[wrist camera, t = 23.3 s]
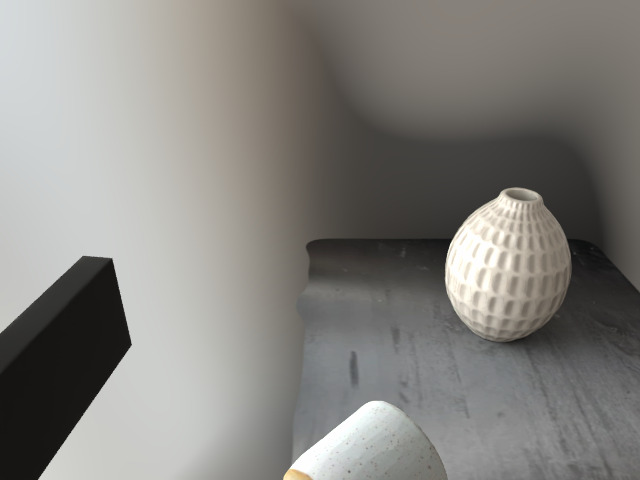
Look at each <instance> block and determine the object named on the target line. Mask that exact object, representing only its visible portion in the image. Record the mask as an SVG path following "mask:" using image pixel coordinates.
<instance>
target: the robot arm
mask: <svg viewBox="0 0 640 480" xmlns="http://www.w3.org/2000/svg"><path fill="white" fill-rule="evenodd" d="M131 345H132V344H131V339H130V335H129V330H128V326H127V321H126V317H125V313H124V308H123V304H122V300H121V295H120V291H119V287H118V282H117V277H116V273H115V269H114V264H113V260H112V258H103V257H90V256H82V257H81V258H80V259H79V260H78V261H77V262H76V263H75V264H74V265H73V266H72V267H71V268H70V269H69V270H68V271H67V272H66V273H64V274H63V275H62V276H61V277H60V278H59V279H58V280H57V281H56V282H55V283H54V284H53V285H52V286H51V287H50V288H48V289H47V290H46V291H45V292H44V293H43V294H42V295H41V296H40V297H39V298H38V299H37V300H36V301H34V302H33V303H32V304H31V305H30V306H29V307H28V308H27V309H26V310H25V311H24V312H23V313H22V314H21V315H20V316H18V317H17V319H15V320H14V321H13V322H12V323H11V324H10V325H9V326H8V327H7V328H6V329H5V330H4V331H2V332H1V333H0V480H38V479H39V477H40V476H41V474H42V473H43V471H44V470H45V469H46V467H47V466H48V464H49V463H50V461H51V460H52V459H53V457H54V456H55V454H56V453H57V451H58V450H59V449H60V447H61V446H62V444H63V443H64V441H65V440H66V439H67V437H68V435H69V434H70V433H71V431H72V430H73V428H74V427H75V425H76V424H77V423H78V421H79V420H80V418H81V417H82V416H83V414H84V413H85V411H86V410H87V408H88V407H89V406H90V404H91V403H92V401H93V400H94V398H95V397H96V396H97V394H98V393H99V391H100V390H101V388H102V387H103V385H104V384H105V382H106V381H107V380H108V378H109V377H110V375H111V374H112V373H113V371H114V370H115V368H116V367H117V365H118V364H119V362H120V361H121V359H122V358H123V357H124V355H125V354H126V352H127V351H128V349H129V348H130V347H131Z"/></svg>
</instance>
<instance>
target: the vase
mask: <svg viewBox="0 0 640 480" xmlns="http://www.w3.org/2000/svg"><path fill="white" fill-rule="evenodd" d="M570 277H571V255H570V250H569V246H568V242H567V240H566V237H565V234H564V232H563V230H562V228H561V226H560V224H559V223H558V222H557V220H556V219H555V217H554V216H553V215H552V214H551V213H550V211H549V210H548V209H547V208H546V207H545V206H544V205H543V199H542V197H541V196H540V195H539V194H537V193H536V192H534V191H531V190H528V189H523V188H509V189H506V190H504V191H502V192H501V194H500V195H499V197H498V198H496V199H494V200H492V201H491V202H489V203H487V204H485V205H483V206H482V207H480V208H479V209H478V210H476V211H475V212H474V213H473V214H471V215H470V216H469V218H468V219H467V220H466V221H465V222H464V223H463V225H462V226H461V227H460V228H459V230H458V231H457V233H456V234H455V236H454V238H453V240H452V242H451V245H450V248H449V251H448V254H447V260H446V266H445V282H446V289H447V293H448V296H449V299H450V301H451V304H452V306H453V308H454V309H455V311H456V313H457V315H458V316H459V318H460V319H461V320H462V321H463V323H464V324H465V325H466V326H467V327H468V328H469V329H470V330H471V331H472V332H474V333H475V334H476V335H478V336H480V337H482V338H484V339H487V340H490V341H495V342H509V341H513V340H517V339H520V338H523V337H526V336H528V335H530V334H532V333H533V332H535V331H537V330H538V329H540V328H541V327H542V326H543V325H545V324H546V323H547V322H548V321H549V320H550V319H551V318H552V317H553V316H554V315H555V313H556V312H557V310H558V309H559V307H560V306H561V305H562V302H563V300H564V298H565V295H566V293H567V289H568V286H569V282H570Z"/></svg>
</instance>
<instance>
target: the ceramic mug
mask: <svg viewBox="0 0 640 480" xmlns="http://www.w3.org/2000/svg"><path fill="white" fill-rule="evenodd" d="M283 480H448V478H447V474H446V471H445V468H444V465H443V463H442V461H441V459H440V457H439V455H438V453H437V451H436V449H435V447H434V446H433V444H432V443H431V442H430V440H429V439H428V437H427V436H426V435H425V433H424V432H423V431H422V430H421V428H420V427H419V426H418V425H417V424H416V423H415V422H414V421H413V420H412V419H411V418H410V417H409V416H408V415H406V414H405V413H404V412H403V411H401V410H400V409H398V408H397V407H395V406H393V405H391V404H389V403H386V402H383V401H371V402H369V403H366V404H365V405H364V406H362V407H361V408H360V409H359V410H358V411H356V412H355V413H354V414H353V415H352V416H350V417H349V418H348V419H347V420H345V421H344V422H343V423H342V424H340V425H339V426H338V427H337V428H335V429H334V430H333V431H332V432H330V433H329V434H328V435H327V436H326V437H325V438H323V439H322V440H321V441H319V442H318V443H317V444H316V445H314V446H313V447H312V448H310V449H309V450H308V451H307V452H305V453H304V454H303V455H302V456H301V457H300V458H299V459H298V460H297V461H296V462H295V463H294V464H293V465H292V467H291V468H290V469H289V470H288V471H287V472H286V474H285V476H284V479H283Z"/></svg>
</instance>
